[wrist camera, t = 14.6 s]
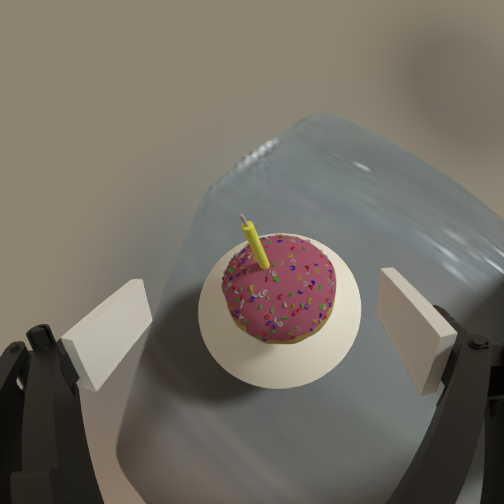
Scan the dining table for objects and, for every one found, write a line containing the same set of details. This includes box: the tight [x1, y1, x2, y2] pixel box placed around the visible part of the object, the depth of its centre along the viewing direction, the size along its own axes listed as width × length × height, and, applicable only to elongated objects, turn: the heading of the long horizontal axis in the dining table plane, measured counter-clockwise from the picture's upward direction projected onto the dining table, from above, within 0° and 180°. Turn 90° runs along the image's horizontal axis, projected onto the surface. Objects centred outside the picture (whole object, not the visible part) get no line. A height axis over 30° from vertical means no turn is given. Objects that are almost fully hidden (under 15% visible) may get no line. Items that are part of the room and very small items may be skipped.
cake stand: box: [198, 233, 361, 389], centre depth 27 cm, size 15×15×8 cm
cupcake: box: [221, 214, 336, 344], centre depth 19 cm, size 9×8×12 cm
